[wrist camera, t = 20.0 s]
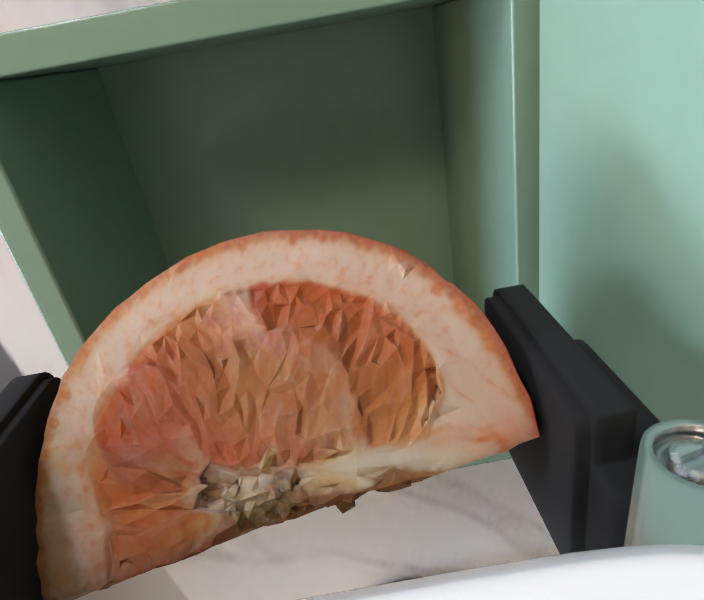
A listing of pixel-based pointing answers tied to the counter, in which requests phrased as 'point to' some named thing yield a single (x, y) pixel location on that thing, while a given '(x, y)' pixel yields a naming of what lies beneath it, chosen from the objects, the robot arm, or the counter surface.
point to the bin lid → (626, 190)
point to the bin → (268, 141)
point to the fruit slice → (263, 401)
